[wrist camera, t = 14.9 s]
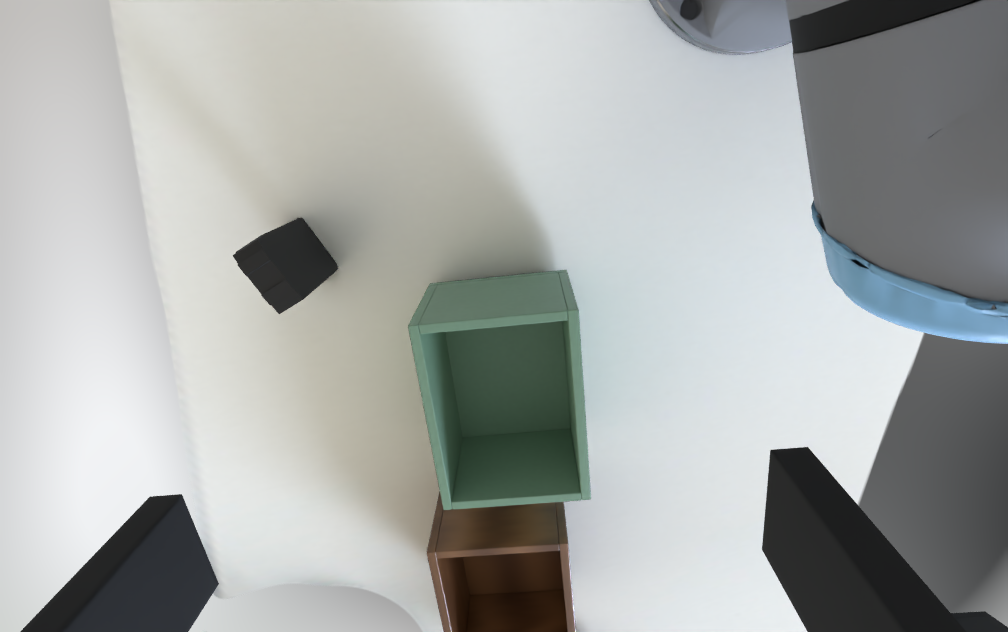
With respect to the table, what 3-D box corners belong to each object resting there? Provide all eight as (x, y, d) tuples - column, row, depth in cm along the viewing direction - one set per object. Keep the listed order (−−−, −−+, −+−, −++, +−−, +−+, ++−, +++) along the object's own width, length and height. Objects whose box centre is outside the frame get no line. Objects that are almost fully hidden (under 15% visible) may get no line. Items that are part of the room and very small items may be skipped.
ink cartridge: (279, 230, 42) (227, 255, 34) (302, 215, 41) (254, 238, 34) (317, 281, 43) (276, 316, 36) (339, 268, 43) (302, 300, 35)
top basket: (565, 266, 42) (578, 309, 33) (577, 424, 48) (591, 499, 38) (431, 279, 43) (407, 325, 34) (457, 433, 48) (443, 510, 39)
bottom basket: (559, 461, 49) (568, 543, 40) (569, 580, 55) (580, 677, 45) (443, 470, 50) (426, 552, 41) (465, 587, 55) (454, 683, 46)
